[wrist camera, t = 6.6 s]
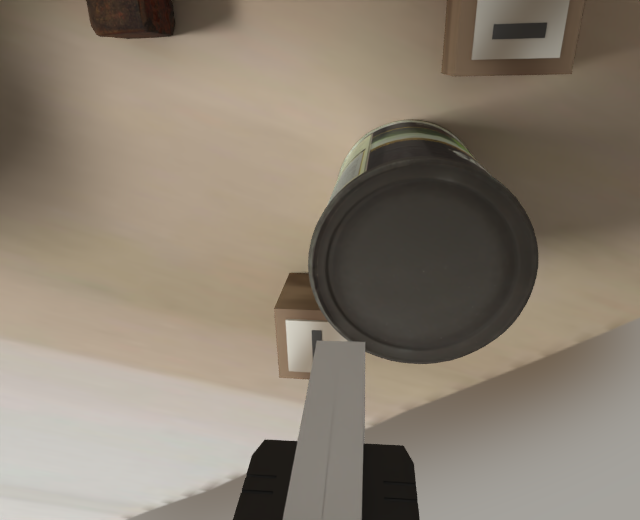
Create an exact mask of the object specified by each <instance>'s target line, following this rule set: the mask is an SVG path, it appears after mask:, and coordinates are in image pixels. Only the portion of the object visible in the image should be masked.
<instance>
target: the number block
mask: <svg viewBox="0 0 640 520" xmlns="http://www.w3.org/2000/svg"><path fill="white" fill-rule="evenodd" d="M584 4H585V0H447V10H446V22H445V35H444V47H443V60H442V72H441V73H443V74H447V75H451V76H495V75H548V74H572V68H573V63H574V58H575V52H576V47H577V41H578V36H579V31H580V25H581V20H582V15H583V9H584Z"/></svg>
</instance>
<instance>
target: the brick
mask: <svg viewBox="0 0 640 520" xmlns="http://www.w3.org/2000/svg"><path fill="white" fill-rule="evenodd" d="M86 1H87V6H88V11H89V17H90V22H91V26H92V28H93V30H94V31H95V33H96V34H97V35H98V36H100V37H116V38H126V39H132V38H153V37H167V36H172V35H173V30H174V26H175V20H174V17H173V16H174V12H173V5H172V1H171V0H86Z"/></svg>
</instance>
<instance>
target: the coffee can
mask: <svg viewBox="0 0 640 520" xmlns="http://www.w3.org/2000/svg"><path fill="white" fill-rule="evenodd" d="M308 269H309V279H310V284H311V288H312V292H313V295H314V297H315V300H316V302H317V304H318V306H319V308H320V310H321V312H322V313H323V315H324V316H325V318H326V320H327V321H328V322H329V323H330V324H331V326H332V327H333V328H334V329H335V330H336V331H337V332H338V333H339V334H340V335H341V336H342V337H344V338H345V339H346V340H348V341H349V342H365V352H367V353H370V354H372V355H375V356H378V357H381V358H384V359H387V360H391V361H396V362H403V363H414V364H430V363H439V362H444V361H450V360H454V359H457V358H460V357H463V356H465V355H468V354H470V353H472V352H474V351H477V350H479V349H480V348H482V347H484V346H486V345H487V344H489V343H490V342H492V341H493V340H495V339H496V338H498V337H499V336H500V335H501V334H503V333H504V332H505V331H506V330H507V329H508V328H509V327H510V326H511V325H512V324H513V323H514V321H515V320H516V319H517V317H518V316H519V315H520V313H521V312H522V310H523V308H524V307H525V305H526V303H527V301H528V299H529V297H530V295H531V292H532V289H533V286H534V283H535V279H536V275H537V269H538V247H537V241H536V237H535V233H534V229H533V227H532V224H531V222H530V220H529V218H528V216H527V214H526V212H525V210H524V209H523V207H522V206H521V204H520V203H519V201H518V200H517V198H516V197H515V196H514V195H513V194H512V193H511V192H510V191H509V190H508V189H507V188H506V187H505V186H504V185H503V184H501V183H500V182H499V181H498V180H496V179H495V178H493V177H492V176H491V175H490V174H489V173H488V172H487V171H486V170H485V169H484V167H483V166H482V165H481V164H480V163H478V161H477V160H476V159H475V158H474V157H473V156H472V155H471V154H470V153H469V151H468V150H467V148H466V147H465V146H464V144H463V143H462V142H461V141H460V140H459V139H458V138H457V137H456V136H454V135H453V134H452V133H450V132H449V131H447V130H446V129H444V128H442V127H440V126H438V125H435V124H432V123H429V122H425V121H418V120H403V121H396V122H392V123H388V124H386V125H383V126H381V127H378V128H376V129H374V130H372V131H371V132H369V133H368V134H366V135H365V136H364V137H363V138H361V139H360V140H359V141H358V142H357V143H356V144H355V145H354V147H353V148H352V149H351V151H350V152H349V153H348V155H347V157H346V158H345V160H344V162H343V165H342V167H341V170H340V173H339V176H338V180H337V183H336V185H335V187H334V190H333V193H332V195H331V198H330V200H329V203H328V205H327V207H326V209H325V210H324V212H323V214H322V215H321V217H320V219H319V221H318V223H317V225H316V227H315V230H314V233H313V236H312V239H311V244H310V249H309V260H308Z"/></svg>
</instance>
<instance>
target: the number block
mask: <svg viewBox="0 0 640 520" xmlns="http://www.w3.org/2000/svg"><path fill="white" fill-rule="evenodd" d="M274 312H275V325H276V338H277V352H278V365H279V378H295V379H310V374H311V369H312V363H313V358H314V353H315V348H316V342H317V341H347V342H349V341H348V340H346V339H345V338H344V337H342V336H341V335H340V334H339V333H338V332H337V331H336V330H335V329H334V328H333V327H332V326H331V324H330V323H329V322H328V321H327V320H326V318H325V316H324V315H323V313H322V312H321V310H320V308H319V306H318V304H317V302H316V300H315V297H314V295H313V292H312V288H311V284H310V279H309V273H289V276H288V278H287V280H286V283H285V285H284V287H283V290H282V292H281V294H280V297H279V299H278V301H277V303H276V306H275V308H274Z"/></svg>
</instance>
